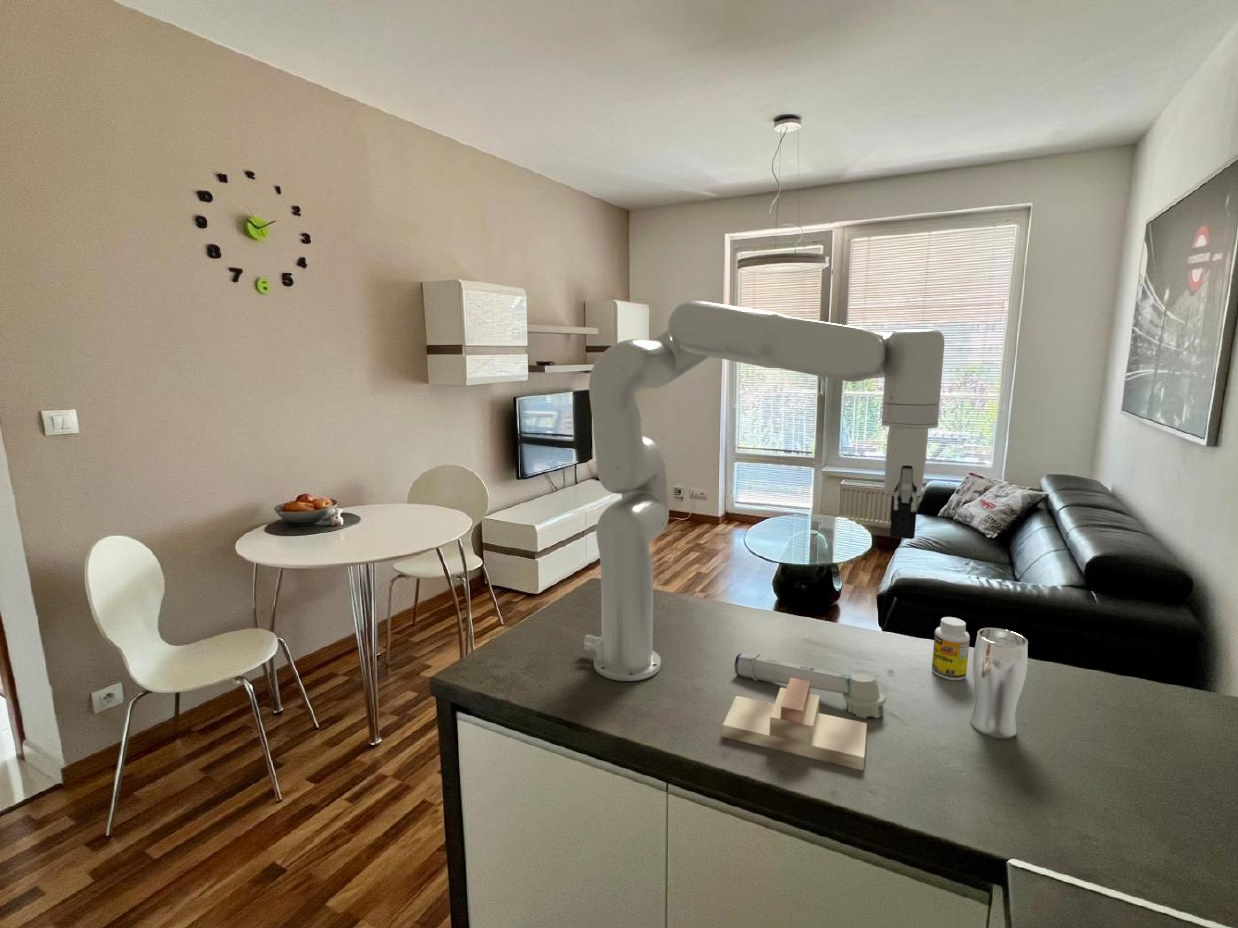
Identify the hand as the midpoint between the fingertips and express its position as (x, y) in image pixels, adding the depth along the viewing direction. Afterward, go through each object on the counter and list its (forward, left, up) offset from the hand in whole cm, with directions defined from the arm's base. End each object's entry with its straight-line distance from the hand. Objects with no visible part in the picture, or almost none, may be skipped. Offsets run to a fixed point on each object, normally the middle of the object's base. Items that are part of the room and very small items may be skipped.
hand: (901, 529), depth 94 cm
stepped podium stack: (-13, -10, -31) cm, 35 cm away
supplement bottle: (+10, +20, -31) cm, 39 cm away
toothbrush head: (-13, +3, -32) cm, 34 cm away
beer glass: (+15, +4, -31) cm, 35 cm away
